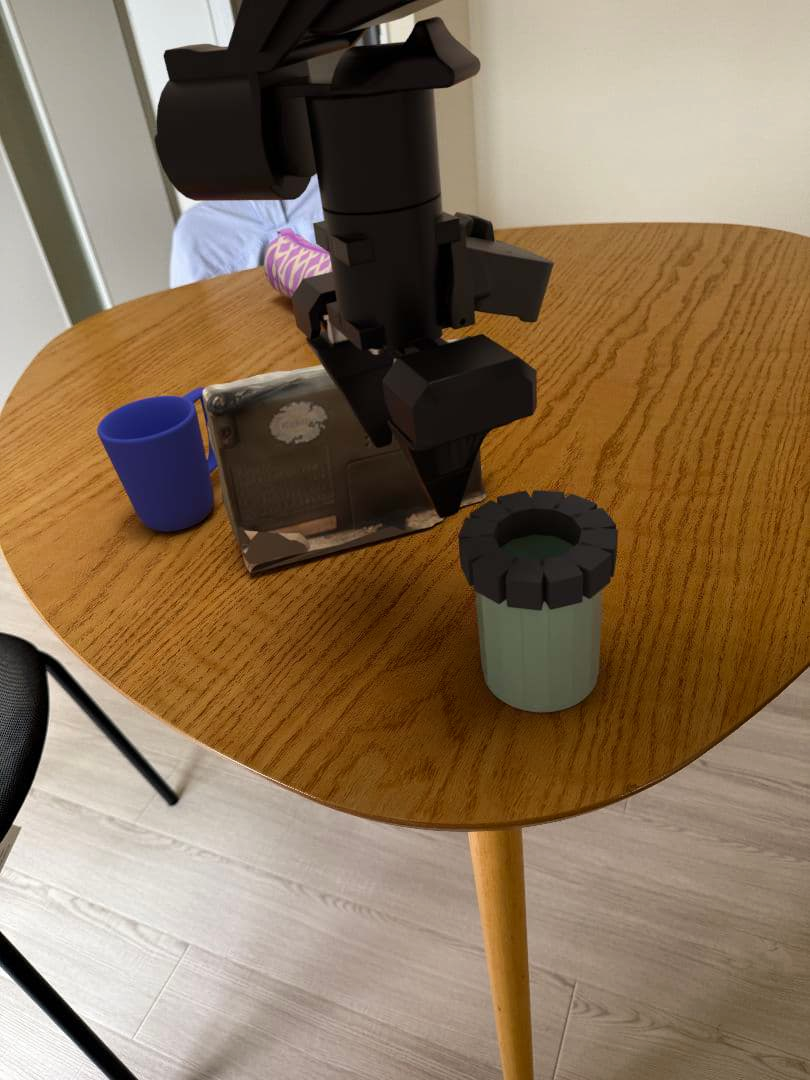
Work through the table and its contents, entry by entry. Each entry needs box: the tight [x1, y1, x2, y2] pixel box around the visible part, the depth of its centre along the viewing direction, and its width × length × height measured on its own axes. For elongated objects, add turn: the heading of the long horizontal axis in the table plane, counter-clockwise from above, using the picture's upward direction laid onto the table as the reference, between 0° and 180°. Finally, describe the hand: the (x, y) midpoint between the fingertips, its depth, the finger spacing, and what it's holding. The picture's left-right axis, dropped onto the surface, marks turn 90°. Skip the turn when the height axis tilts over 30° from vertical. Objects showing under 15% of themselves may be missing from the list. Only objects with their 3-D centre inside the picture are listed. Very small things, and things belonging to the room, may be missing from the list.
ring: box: [457, 489, 619, 611], centre depth 45 cm, size 9×9×2 cm
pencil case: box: [263, 227, 332, 299], centre depth 109 cm, size 22×9×9 cm, turn 39°
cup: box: [474, 535, 604, 713], centre depth 48 cm, size 7×7×9 cm
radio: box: [202, 335, 488, 574], centre depth 63 cm, size 23×9×15 cm, turn 105°
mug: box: [96, 386, 218, 532], centre depth 70 cm, size 8×12×10 cm
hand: (413, 477), depth 46 cm, fingers open, 9 cm apart
